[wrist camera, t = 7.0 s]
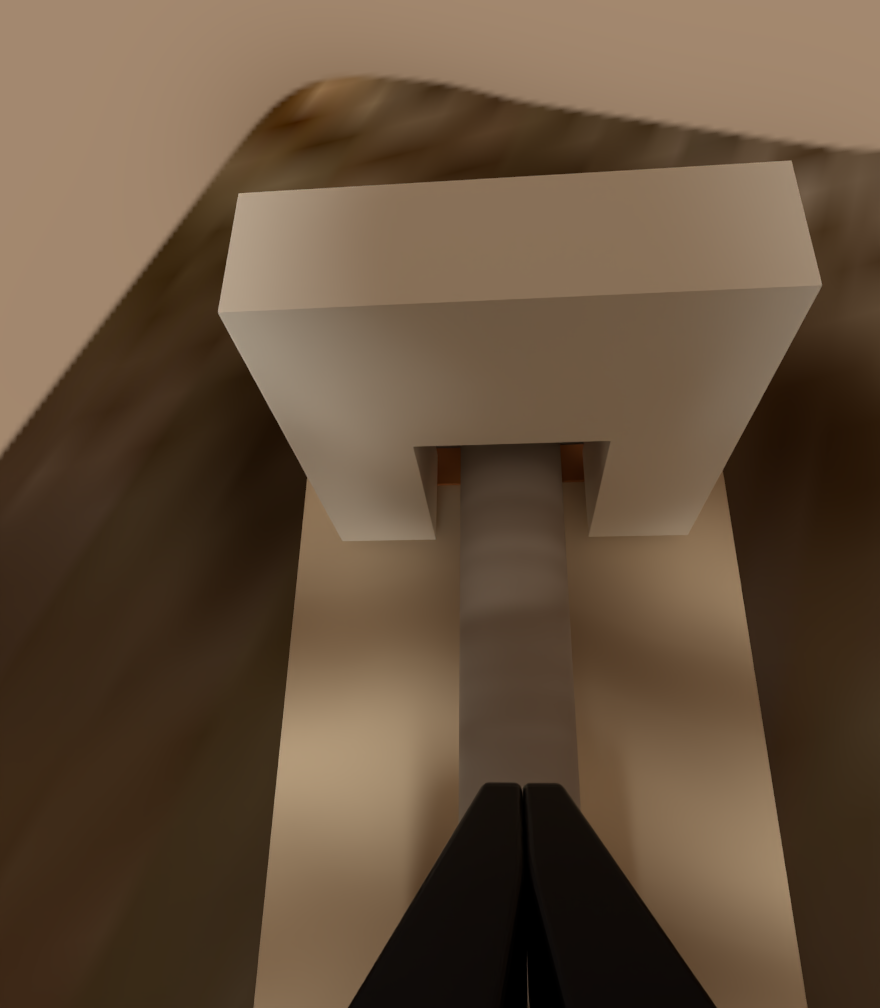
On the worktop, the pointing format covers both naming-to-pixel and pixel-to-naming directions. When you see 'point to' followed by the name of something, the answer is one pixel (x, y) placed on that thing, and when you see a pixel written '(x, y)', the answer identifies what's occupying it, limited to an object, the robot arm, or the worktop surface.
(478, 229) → the sleeve
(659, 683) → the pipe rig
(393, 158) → the worktop surface
